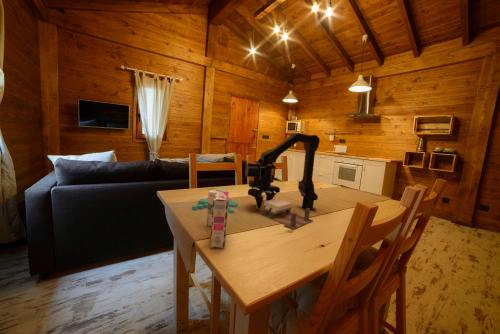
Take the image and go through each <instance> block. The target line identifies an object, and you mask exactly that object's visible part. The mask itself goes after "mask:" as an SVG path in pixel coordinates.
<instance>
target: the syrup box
mask: <svg viewBox="0 0 500 334" xmlns="http://www.w3.org/2000/svg"><path fill="white" fill-rule="evenodd" d="M216 191H218V192H228V191H227V190H224V189H220V188H212V189H210V190H209V191H208V193H207V197H208V209H207V212H206V213H207V216H206V226H207V227H210V228H212V214H213V199H214V196H215V193H216Z"/></svg>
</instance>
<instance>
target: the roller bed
mask: <svg viewBox="0 0 500 334" xmlns="http://www.w3.org/2000/svg"><path fill="white" fill-rule="evenodd" d="M291 208H292V207H290V208H287V209H284V210H280V211H277V210H274V209H272V208H269V207H265V208H264V210H263V211H262V210H260V209H257V208H256V207H252V208H249V209H247V210H248V211H250V212H251V213H254V214H257V215H259V216H261V217H264V218H266V219H269V220H271V221H274V222H277V223H279V224H281V225H282V226H284V227H285V228H287V229H290V230H292V231H295V230H297V229H299V228H302V227H304V226H306V225H308V224H310V223H313V222H314V220H313V219H310V213H311V211H310V208H307V209H304V216H303V215H299V214H297V212H291Z"/></svg>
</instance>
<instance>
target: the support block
mask: <svg viewBox="0 0 500 334" xmlns="http://www.w3.org/2000/svg"><path fill="white" fill-rule="evenodd" d="M264 201H266V199H263V201H262V204H261V207H260V208H258V207H257V203H256V205H255V208H257V209H260V210H262V211H263V210H264V208H265V207H266V206H264Z"/></svg>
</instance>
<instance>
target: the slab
mask: <svg viewBox="0 0 500 334" xmlns="http://www.w3.org/2000/svg"><path fill="white" fill-rule="evenodd" d="M292 204H293V203H292V202H289V201H286V200H284V199H280V198H276V197H275V198H273V199H272V200H268V201H266V200H265V201H264V206H266V207H269V208H272V209H274V210H277V211H280V210H284V209H287V208H292Z"/></svg>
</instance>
